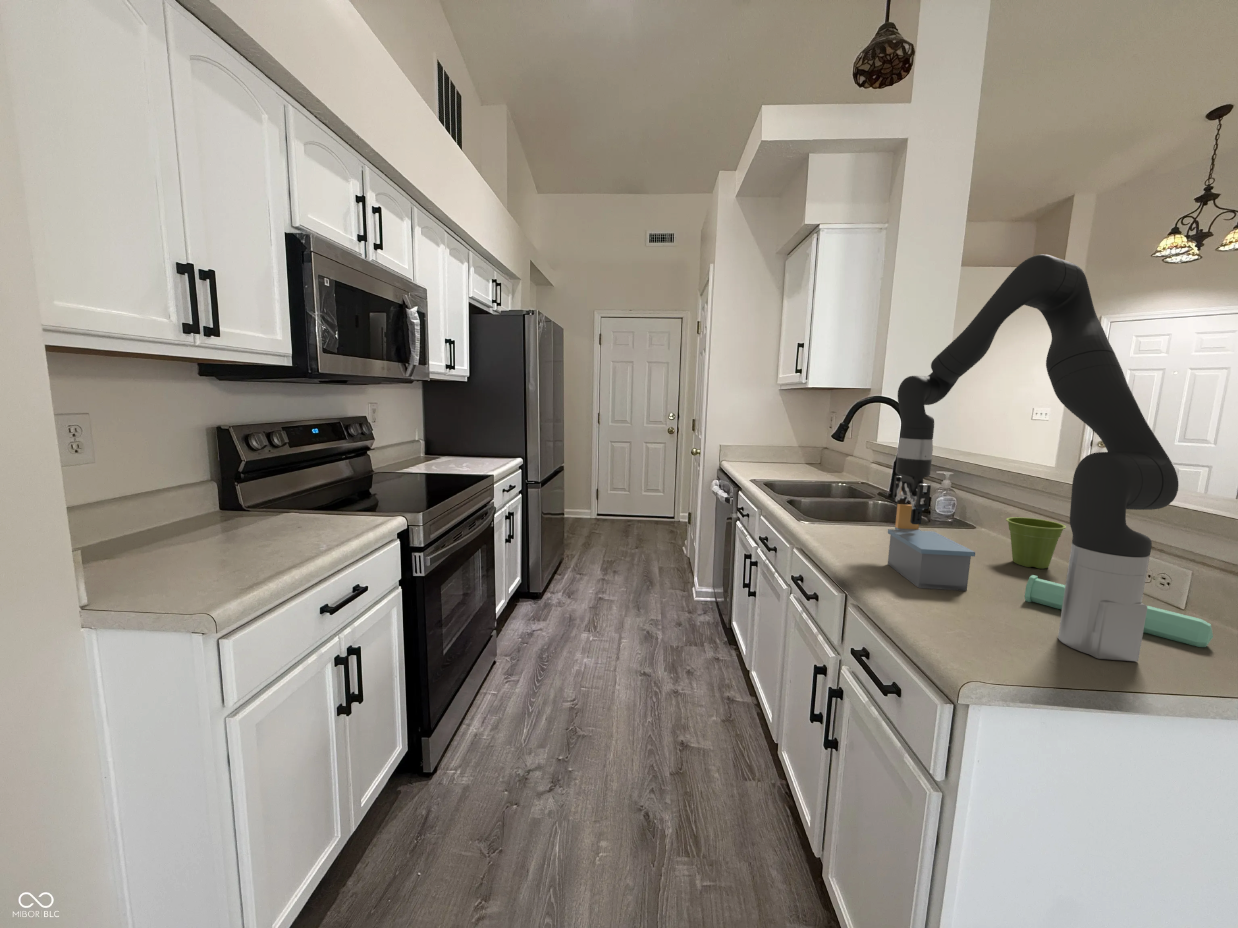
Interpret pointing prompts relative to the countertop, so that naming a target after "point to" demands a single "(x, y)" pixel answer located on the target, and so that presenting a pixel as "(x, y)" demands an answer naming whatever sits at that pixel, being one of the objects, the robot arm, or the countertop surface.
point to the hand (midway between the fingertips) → (907, 520)
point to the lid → (924, 536)
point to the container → (1155, 622)
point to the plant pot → (1033, 540)
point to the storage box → (929, 567)
